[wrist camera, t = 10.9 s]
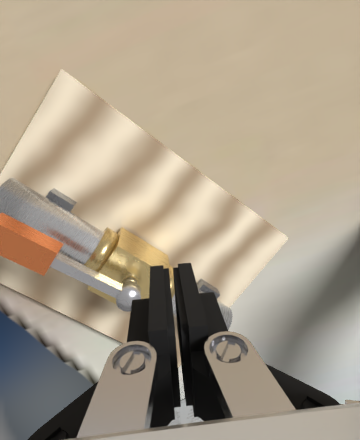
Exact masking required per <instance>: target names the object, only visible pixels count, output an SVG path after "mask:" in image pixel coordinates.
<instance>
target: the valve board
mask: <svg viewBox="0 0 360 440" xmlns="http://www.w3.org/2000/svg"><path fill="white" fill-rule="evenodd" d="M10 178H14V179H16V180H18V181H19V182H21V183H23V184H24V185H26V186H28V187H29V188H31V189H33V190H34V191H36V192H38V193H39V194H41V195H43V196H44V197H46V196H47V194H48V193H49V191H50V190H52V189H53V188H55V189H56V190H58V191H60V192H61V193H63V194H64V195H66V196H68V197H69V198H71V199H73V200H74V201H76V202H77V203H76V205H75V206H74V208H73V209H72V211H71V213H73V214H74V215H76V216H78V217H79V218H81V219H83V220H84V221H86V222H88V223H89V224H91V225H93V226H94V227H96V228H98V229H99V230H101V231H104V230H105V229H106V228H107V227H108V228H110V229H111V230H113V231H115V232H116V233H118V232H119V230H120V229H121V227H123V228H125V229H126V230H128V231H129V232H131V233H133V234H134V235H136V236H138V237H139V238H141V239H142V240H144V241H146V242H147V243H149V244H150V245H152V246H154V247H155V248H157V249H159V250H160V251H162V252H163V253H165V254H167V255H168V258H169V264H170V266H172V267H174V268H175V267H178V264H181V263H191V265H192V269H193V272H194V276H195V280H196V283H198V281H199V280H200V279H203V280H204V281H206V282H208V283H209V284H211V285H212V286H214V287H216V288H217V289H218V291H219V293H220V296H219V297H218V298H217V300H218V301H219V302H221V303H223V304H224V305H226V306H228V307H229V308H230V307H231V305H232V304H233V303H234V302H235V301H236V300H237V298H238V297H239V296H240V295H241V294H242V293H243V291H244V290H245V289H246V288H247V287H248V286H249V284H250V283H251V282H252V281H253V280H254V278H255V277H256V276H257V275H258V274H259V273H260V271H261V270H262V269H263V268H264V267H265V266H266V264H267V263H268V262H269V261H270V260H271V258H272V257H273V256H274V255H275V254H276V253H277V251H278V250H279V249H280V248H281V247H282V246H283V244H284V243H285V242H286V241H287V240H288V239H289V238H288V237H287V236H285V235H284V234H283V233H282V232H280V231H279V230H277V229H276V228H275V227H273V226H272V225H271V224H269V223H268V222H267V221H265V220H264V219H263V218H261V217H260V216H259V215H257V214H256V213H255V212H253V211H252V210H251V209H249V208H248V207H247V206H245V205H244V204H243V203H241V202H240V201H239V200H237V199H236V198H235V197H233V196H232V195H230V194H229V193H228V192H226V191H225V190H224V189H222V188H221V187H220V186H218V185H217V184H216V183H214V182H213V181H212V180H210V179H209V178H208V177H206V176H205V175H204V174H202V173H201V172H200V171H198V170H197V169H196V168H194V167H193V166H192V165H190V164H189V163H187V162H186V161H185V160H183V159H182V158H181V157H179V156H178V155H177V154H175V153H174V152H173V151H171V150H170V149H169V148H167V147H166V146H165V145H163V144H162V143H161V142H159V141H158V140H157V139H155V138H154V137H153V136H151V135H150V134H149V133H147V132H146V131H145V130H143V129H142V128H140V127H139V126H138V125H136V124H135V123H134V122H132V121H131V120H130V119H128V118H127V117H126V116H124V115H123V114H122V113H120V112H119V111H118V110H116V109H115V108H114V107H112V106H111V105H110V104H108V103H107V102H106V101H104V100H103V99H102V98H100V97H99V96H97V95H96V94H95V93H93V92H92V91H91V90H89V89H88V88H87V87H85V86H84V85H83V84H81V83H80V82H79V81H77V80H76V79H75V78H73V77H72V76H71V75H69V74H68V73H67V72H65V71H64V70H62V69H61V71H60V72H59V74H58V76H57V78H56V79H55V81H54V83H53V84H52V86H51V88H50V90H49V91H48V93H47V95H46V97H45V98H44V100H43V102H42V103H41V105H40V107H39V109H38V110H37V112H36V114H35V115H34V117H33V119H32V121H31V122H30V124H29V126H28V128H27V129H26V131H25V133H24V134H23V136H22V138H21V140H20V141H19V143H18V145H17V146H16V148H15V150H14V152H13V153H12V155H11V157H10V159H9V160H8V162H7V164H6V165H5V167H4V169H3V171H2V172H1V174H0V186H1V185H2V184H3V183H4V182H5V181H7V180H8V179H10ZM0 283H1V284H3V285H5V286H7V287H9V288H11V289H13V290H15V291H17V292H19V293H21V294H23V295H25V296H27V297H30V298H32V299H34V300H36V301H38V302H40V303H42V304H44V305H46V306H48V307H50V308H52V309H54V310H56V311H58V312H60V313H62V314H64V315H66V316H68V317H70V318H72V319H75V320H77V321H79V322H81V323H83V324H85V325H87V326H89V327H91V328H93V329H95V330H97V331H99V332H101V333H103V334H105V335H107V336H109V337H111V338H113V339H115V340H118V341H120V342H122V343H127V336H128V328H129V321H130V313H131V312H126V311H123V310H121V309H119V308H118V306H117V305H116V304H114V303H112V302H110V301H109V300H107V299H105V298H103V297H101V296H99V295H97V294H95V293H93V292H92V291H90V290H88V289H87V287H88V285H87V284H85V283H83V282H81V281H79V280H77V279H75V278H72V277H70V276H68V275H66V274H64V273H62V272H60V271H58V270H56V269H54V268H52V267H50V268H49V269H48V271H47V272H46V274H45V275H44V276H43V275H41V274H39V273H36V272H34V271H32V270H30V269H28V268H26V267H24V266H22V265H19V264H17V263H15V262H13V261H11V260H9V259H7V258H4V257H2V256H0ZM174 325H175V336H176V349H177V362H178V368H179V367H180V365H181V356H180V348H179V339H178V330H177V318H176V317H175V316H174Z"/></svg>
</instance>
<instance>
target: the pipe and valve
mask: <svg viewBox="0 0 360 440" xmlns="http://www.w3.org/2000/svg"><path fill="white" fill-rule="evenodd" d="M76 203H77V202H76V201H74V200H73V199H71V198H69V197H68V196H66V195H64V194H63V193H61V192H60V191H58V190H56V189H55V188H53V189H52V190H50V191H49V193H48V194H47V196H46V197H44V196H43V195H41V194H39V193H38V192H36V191H34V190H33V189H31V188H29V187H28V186H26V185H24V184H23V183H21V182H19V181H18V180H16V179H14V178H10V179H8V180H7V181H5V182H4V183H3V184H2V185H1V186H0V213H4V214H6V215H8V216H10V217H12V218H14V219H16V220H18V221H20V222H22V223H24V224H26V225H28V226H30V227H32V228H34V229H36V230H38V231H40V232H42V233H44V234H46V235H47V236H49V237H51V238H53V239H55V240H57V241H59V242H61V243H63V244H64V245H63V246H62V248H61V250H60V251H59V253H60V254H62V255H64V256H66V257H68V258H70V259H72V260H74V261H76V262H78V263H80V264H82V265H84V266H86V267H88V268H90V269H92V270H94V271H96V272H99V273H101V274H103V275H105V276H107V277H109V278H111V279H113V280H115V281H117V282H119V283H121V284H122V283H123V282H126V281H133V282H136V283H137V284H138V285H139V286H140V288H141V299H146V298H149V287H150V266H159V265H163V267H164V268H169V275H170V285H171V295H172V305H173V315H174V316H175V317H176V304H175V290H174V276H173V268H174V267H172V266H170V264H169V258H168V255H167V254H165V253H163V252H162V251H160V250H159V249H157V248H155V247H154V246H152V245H150V244H149V243H147V242H146V241H144V240H142V239H141V238H139V237H138V236H136V235H134V234H133V233H131V232H129V231H128V230H126V229H125V228H123V227H121V229H120V230H119V232H118V233H116V232H115V231H113V230H111V229H110V228H108V227H107V228H106V229H105V230H104V231H101V230H99V229H98V228H96V227H94V226H93V225H91V224H89V223H88V222H86V221H84V220H83V219H81V218H79V217H78V216H76V215H74V214H73V213H71V211H72V209H73V208H74V206H75V205H76ZM197 287H198V291H199V293H207V292H214V294H215V296H216V299H217V298H218V297H219V296H220V293H219V291H218V289H217V288H216V287H214V286H212V285H211V284H209V283H208V282H206V281H204V280H203V279H200V280H199V281H198V283H197ZM87 289H88V290H90V291H92V292H93V293H95V294H97V295H99V296H101V297H103V298H105V299H107V300H109V301H110V302H112V303H114V304H116V298H114V297H112V296H110V295H108V294H106V293H104V292H102V291H99V290H97V289H95V288H93V287H91V286H89V285H88V287H87ZM217 302H218V304H219V307H220V310H221V313H222V315H223V318H224V321H225V324H226V326H227V329H229V327H230V325H231V322H232V310H231V309H230V308H229V307H228V306H226V305H224V304H223V303H221V302H219V301H218V300H217ZM116 305H117V304H116ZM130 312H131V311H130ZM176 318H177V317H176Z"/></svg>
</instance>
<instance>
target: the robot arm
mask: <svg viewBox="0 0 360 440" xmlns="http://www.w3.org/2000/svg"><path fill="white" fill-rule="evenodd" d="M173 276H174V290H175V304H176V317H177V330H178V339H179V348H180V356H181V365H182V374H183V383H184V391H185V400H186V406H193V413H194V417H199V418H200V419H202V420H203V421H202V422H194V423H186V424H179V425H171V426H168V425H169V424H170V422H171V421H172V420H175V411H174V408H175V407H181V402H180V389H179V375H178V362H177V349H176V336H175V325H174V315H173V305H172V295H171V285H170V275H169V268H164V267H163V265H159V266H150V287H149V298H146V299H136V300H132V305H131V313H130V321H129V328H128V336H127V343H124V344H122V345H120V346H118V347H117V348H115V349H114V350H113V351H112V352H111V354H110V355H109V357H108V359H107V361H106V364H105V366H104V369H103V371H102V374H101V376H100V379H99V381H98V382H97V383H96V384H94V385H93V386H92V387H91V388H89V389H88V390H87V391H86V392H84V393H83V394H82V395H81V396H79V397H78V398H77V399H76V400H74V401H73V402H72V403H71V404H69V405H68V406H67V407H66V408H64V409H63V410H62V411H61V412H59V413H58V414H57V415H55V416H54V417H53V418H52V419H51V420H49V421H48V422H47V423H46V424H44V425H43V426H42V427H40V429H38V430H37V431H36V432H35V433H34V434H33V435H32V436H31V437H30V438H29V439H28V440H360V401H353V400H345V404H339V403H338V402H337V401H336V400H335V399H333V398H332V397H330V396H329V395H327V394H325V393H323V392H321V391H319V390H317V389H315V388H313V387H311V386H309V385H307V384H305V383H303V382H301V381H299V380H297V379H295V378H293V377H291V376H289V375H287V374H285V373H283V372H281V371H279V370H277V369H275V368H273V367H271V366H269V365H267V364H265V363H264V361H263V360H262V358H261V357H260V355H259V354H258V352H257V351H256V350H255V348H254V347H253V345H252V344H251V342H250V341H249V340H248V339H247V338H246V337H244V336H242V335H241V334H238V333H235V332H228V329H227V326H226V324H225V321H224V318H223V315H222V313H221V310H220V307H219V304H218V302H217V299H216V296H215V294H214V292H207V293H199V291H198V287H197V283H196V280H195V276H194V272H193V269H192V265H191V263H181V264H178V267H175V268H173Z"/></svg>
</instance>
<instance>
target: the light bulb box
mask: <svg viewBox="0 0 360 440" xmlns="http://www.w3.org/2000/svg"><path fill="white" fill-rule="evenodd" d="M180 402H181V407H175V408H174V411H175V420H172V421H171V422H170V424H169V425H168V426H171V425H179V424H186V423H194V422H202V421H203V420H202V419H200V418H199V417H194V413H193V406H186V400H185V399H183V400H181V401H180Z"/></svg>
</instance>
